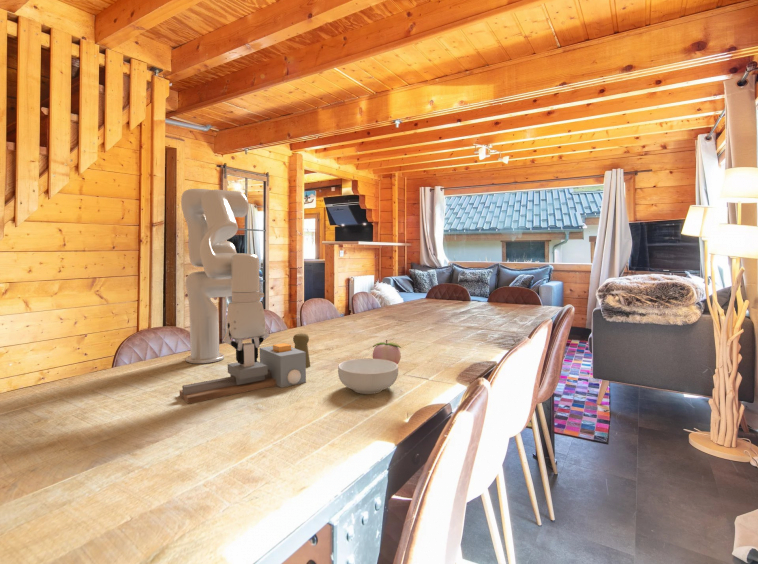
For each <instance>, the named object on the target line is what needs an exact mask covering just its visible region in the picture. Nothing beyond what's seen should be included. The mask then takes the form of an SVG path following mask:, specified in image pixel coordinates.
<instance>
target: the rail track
mask: <svg viewBox="0 0 758 564" xmlns="http://www.w3.org/2000/svg"><path fill="white" fill-rule="evenodd" d="M275 386H277V385H276V380H275V379H273V378H272V374H271V371H270V370H268V374H267V375H265V380H261V381H256V382H251V383H246V384H241V385H236V377H234V376H231V377H230V376H226V377H223V378H222V377H221V378H217V379H212V380H211V379H210V380H205V381H200V382H194V383H189V384H183V385H182V389H179V397H180V398H182V400H184V401H185V403H187V404H188V405H189V404H193V403H194V404H195V403H200V402H203V401H208V400H213V399H214V400H215V399H217V398H223V397H227V396H233V395H237V394H242V393H245V392H246V393H247V392H251V391H256V390H261V389H266V388H270V387H275Z"/></svg>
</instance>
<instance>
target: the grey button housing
mask: <svg viewBox="0 0 758 564" xmlns="http://www.w3.org/2000/svg"><path fill="white" fill-rule="evenodd" d="M259 362H261V363H263V364H265V365H267V369H268V370H270V371H271V374H272V378H273V379H275V380H276V385H275V386H277V387H279V388H281V389H282V388H286V387H290V386H291V387H292V386H295V385H300V384H304V383H307V368H306V352H304V351H301V350H298V349H295V347H292V346H291V351H286V352H279V353H278V352H275V351H273V345H271V346H265V347H264V346H263V347H259Z"/></svg>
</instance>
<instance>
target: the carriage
mask: <svg viewBox="0 0 758 564" xmlns="http://www.w3.org/2000/svg"><path fill="white" fill-rule="evenodd" d="M242 350H244V364H240V363H238V361H236V362H233V363H232V362H231V363H227V373H228V374H230V376H229V377H231V376H234V377H236V385H241V384H246V383H251V382H256V381H261V380H265V375H267V374H268V369H267V365H265V364H263V363H261V362H260V361H258V360H257V362H255V361H254V344H253V343H251V342H250V341H249V342H244V343H243V342H242Z"/></svg>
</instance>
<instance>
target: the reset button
mask: <svg viewBox="0 0 758 564" xmlns="http://www.w3.org/2000/svg"><path fill="white" fill-rule="evenodd" d="M272 346H273V351H275V352H278V353H279V352H286V351H291V347H292V345H291V344H289V343H285V342H283V343H282V342H281V343H276V344H272Z"/></svg>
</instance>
